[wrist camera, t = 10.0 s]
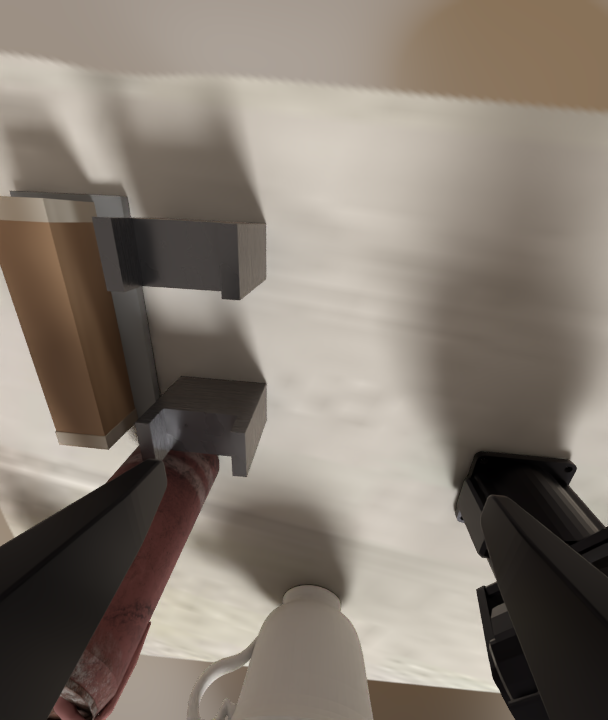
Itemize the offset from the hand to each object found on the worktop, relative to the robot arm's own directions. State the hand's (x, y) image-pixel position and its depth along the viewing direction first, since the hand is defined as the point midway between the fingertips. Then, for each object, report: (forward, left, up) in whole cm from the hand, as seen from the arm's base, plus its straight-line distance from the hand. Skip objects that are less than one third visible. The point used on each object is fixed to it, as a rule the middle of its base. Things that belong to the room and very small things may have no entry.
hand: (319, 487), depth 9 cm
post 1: (+7, -5, -12) cm, 15 cm away
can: (+10, +11, -12) cm, 19 cm away
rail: (+15, 0, -11) cm, 19 cm away
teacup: (+1, +28, -12) cm, 30 cm away
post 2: (+7, +5, -12) cm, 15 cm away
